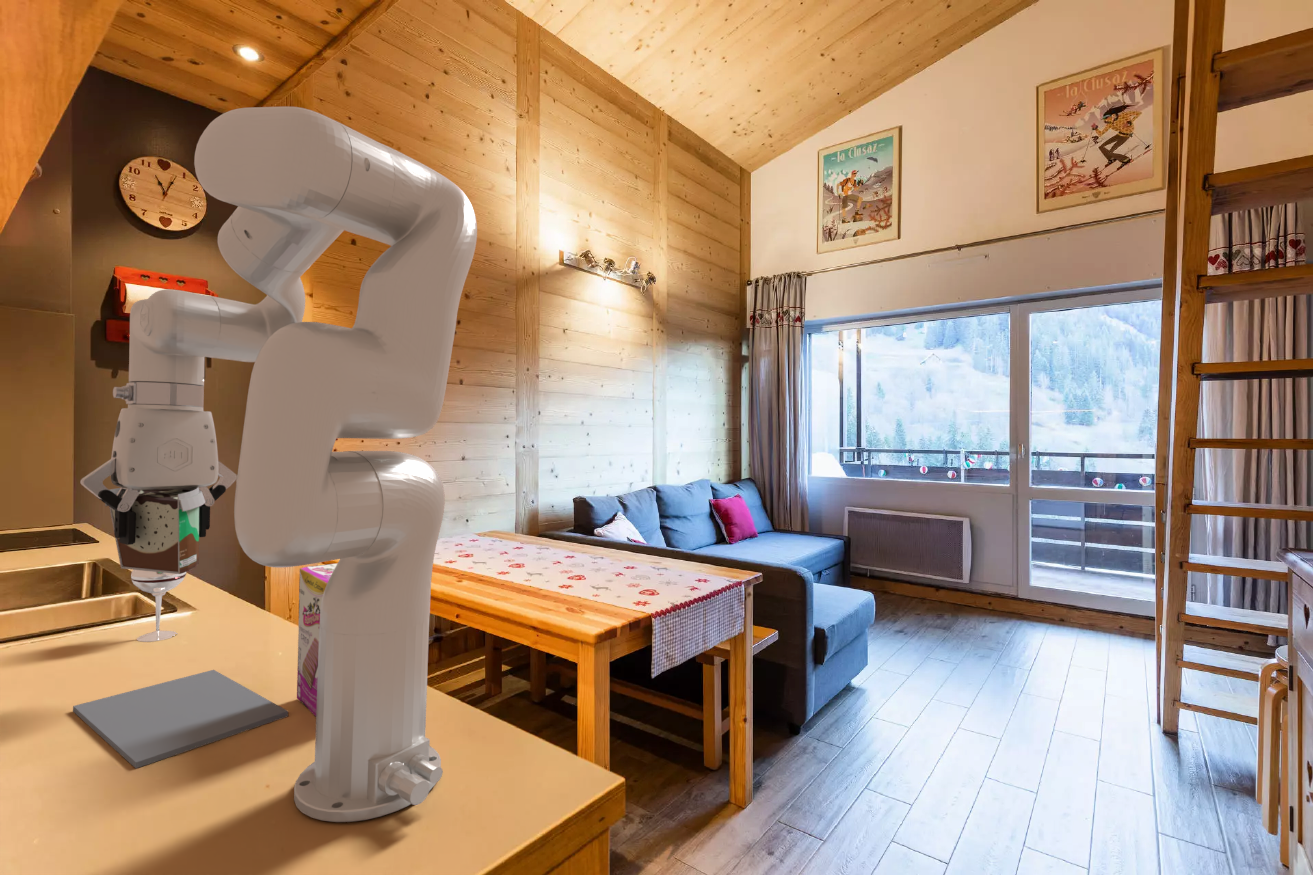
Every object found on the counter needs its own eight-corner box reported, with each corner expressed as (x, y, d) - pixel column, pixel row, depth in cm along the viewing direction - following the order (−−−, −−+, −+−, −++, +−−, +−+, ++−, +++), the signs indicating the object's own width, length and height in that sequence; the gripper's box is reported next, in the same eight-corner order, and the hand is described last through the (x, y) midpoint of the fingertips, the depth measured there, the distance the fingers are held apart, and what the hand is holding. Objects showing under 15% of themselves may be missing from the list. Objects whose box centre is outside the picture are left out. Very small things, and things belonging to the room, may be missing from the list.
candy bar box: (293, 700, 75) (297, 567, 75) (336, 688, 79) (340, 561, 79) (325, 732, 68) (330, 584, 67) (372, 718, 71) (376, 577, 71)
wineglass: (161, 627, 100) (163, 554, 99) (195, 631, 98) (198, 557, 98) (116, 640, 93) (119, 562, 93) (153, 645, 92) (155, 565, 91)
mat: (287, 716, 71) (288, 710, 71) (135, 768, 59) (136, 762, 59) (213, 674, 82) (213, 669, 82) (72, 711, 70) (73, 705, 70)
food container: (234, 559, 80) (228, 484, 79) (189, 575, 75) (181, 494, 73) (161, 552, 83) (153, 480, 82) (111, 567, 77) (103, 489, 76)
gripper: (85, 393, 68) (81, 552, 68) (255, 402, 83) (253, 534, 83) (65, 395, 73) (62, 545, 72) (231, 404, 87) (228, 529, 87)
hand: (163, 538), depth 78 cm, fingers closed on food container, 6 cm apart
